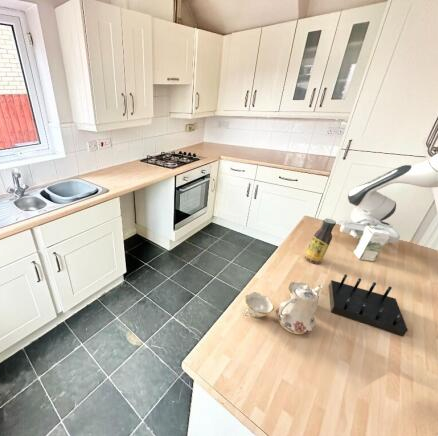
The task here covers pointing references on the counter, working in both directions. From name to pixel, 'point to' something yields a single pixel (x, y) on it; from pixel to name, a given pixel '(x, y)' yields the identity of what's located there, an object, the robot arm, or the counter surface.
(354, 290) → the dish rack
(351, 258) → the counter surface
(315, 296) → the chinaware
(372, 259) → the syrup box
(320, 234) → the sauce bottle
